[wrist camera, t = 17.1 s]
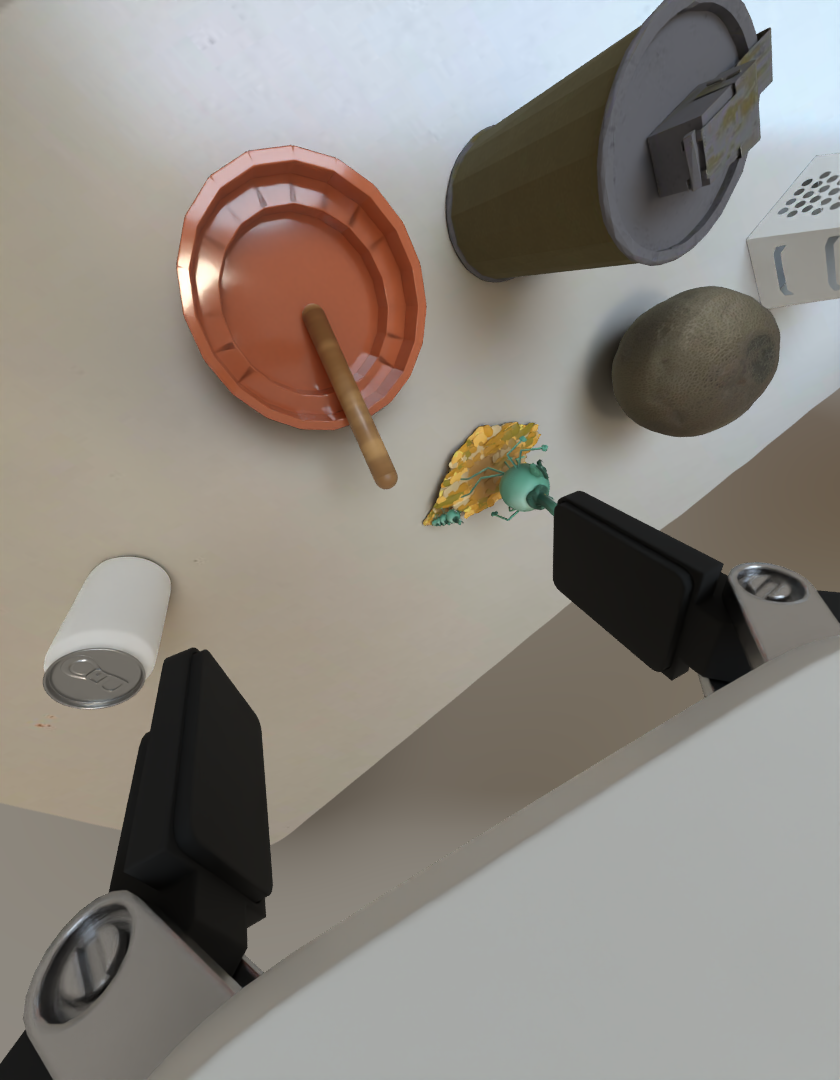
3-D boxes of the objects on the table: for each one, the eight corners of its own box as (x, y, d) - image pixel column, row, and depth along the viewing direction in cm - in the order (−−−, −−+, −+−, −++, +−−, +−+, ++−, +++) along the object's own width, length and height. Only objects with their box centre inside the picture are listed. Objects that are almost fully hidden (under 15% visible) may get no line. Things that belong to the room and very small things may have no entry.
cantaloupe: (675, 269, 43) (844, 253, 32) (666, 393, 52) (796, 417, 40) (572, 316, 41) (711, 318, 29) (579, 437, 50) (690, 477, 38)
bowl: (137, 194, 25) (115, 167, 21) (373, 160, 29) (401, 130, 24) (245, 436, 34) (248, 456, 30) (414, 386, 38) (440, 397, 33)
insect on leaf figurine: (393, 477, 42) (472, 528, 30) (517, 388, 45) (633, 403, 33) (428, 540, 48) (506, 603, 36) (536, 457, 51) (641, 490, 39)
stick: (301, 297, 30) (386, 486, 29) (323, 298, 31) (405, 480, 30) (296, 315, 31) (376, 495, 30) (317, 315, 32) (394, 489, 31)
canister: (485, 308, 37) (674, 307, 21) (421, 191, 31) (621, 68, 15) (568, 222, 37) (828, 155, 21) (520, 85, 30) (839, -163, 14)
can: (133, 541, 35) (96, 627, 25) (188, 585, 39) (174, 675, 29) (67, 581, 34) (5, 685, 25) (130, 623, 38) (96, 726, 29)
